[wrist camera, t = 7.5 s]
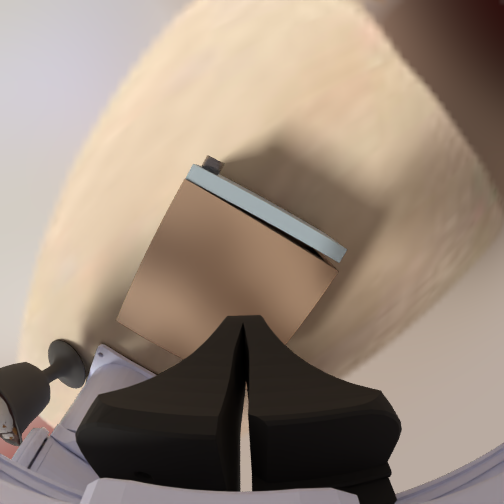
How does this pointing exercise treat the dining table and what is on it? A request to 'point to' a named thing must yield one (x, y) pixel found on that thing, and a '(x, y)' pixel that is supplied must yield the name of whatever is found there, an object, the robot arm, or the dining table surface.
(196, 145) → the dining table surface
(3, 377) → the sundae
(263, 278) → the cabinet
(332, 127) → the dining table surface
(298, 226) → the door
